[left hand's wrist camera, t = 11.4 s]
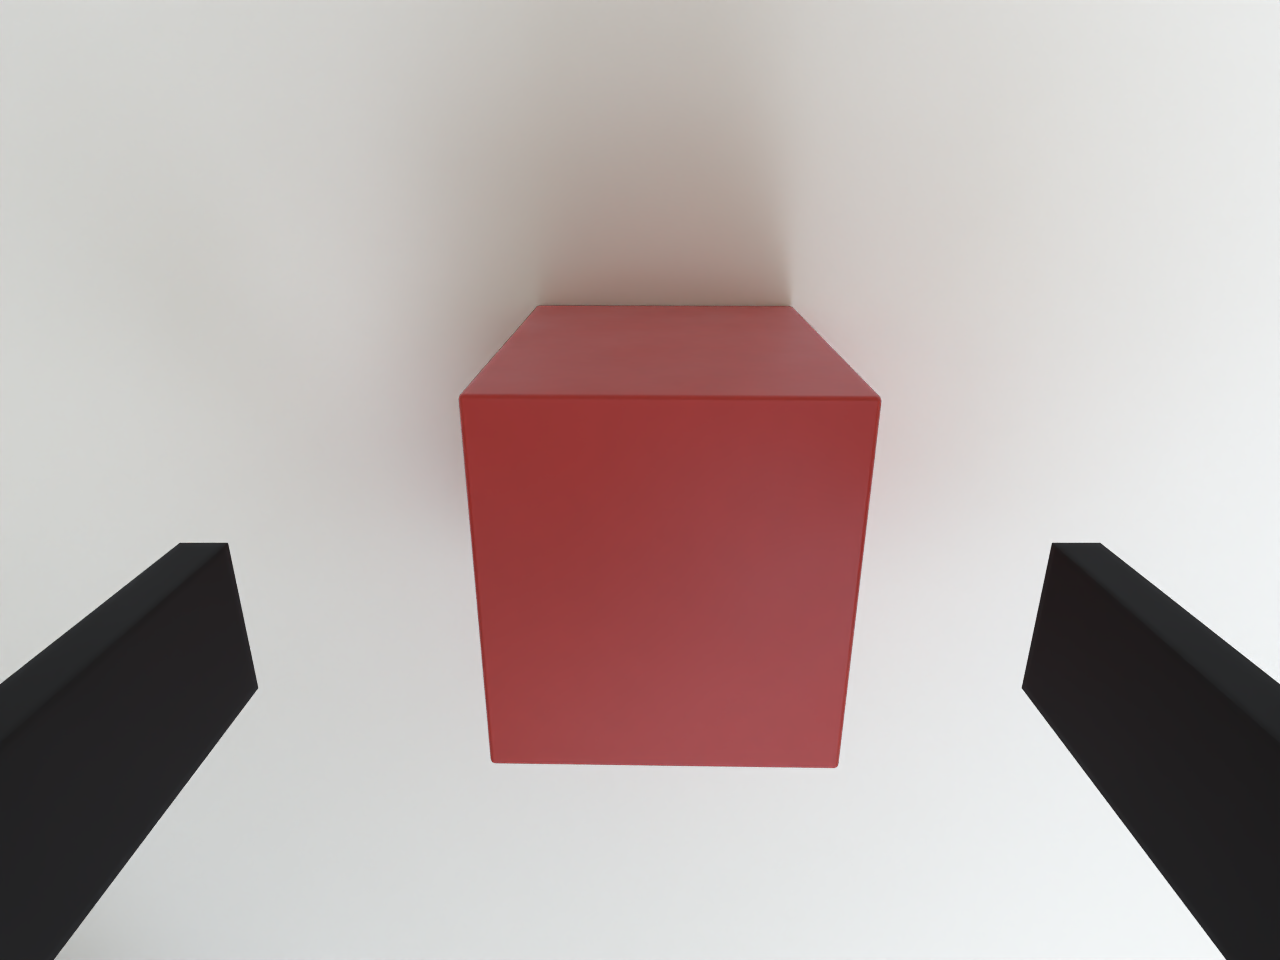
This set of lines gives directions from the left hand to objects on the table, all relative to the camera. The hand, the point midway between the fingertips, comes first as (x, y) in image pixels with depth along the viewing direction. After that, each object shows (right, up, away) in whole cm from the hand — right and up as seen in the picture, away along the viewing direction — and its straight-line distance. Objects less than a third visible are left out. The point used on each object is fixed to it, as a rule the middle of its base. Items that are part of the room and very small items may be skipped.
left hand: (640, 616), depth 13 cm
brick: (+1, +3, +7) cm, 8 cm away
